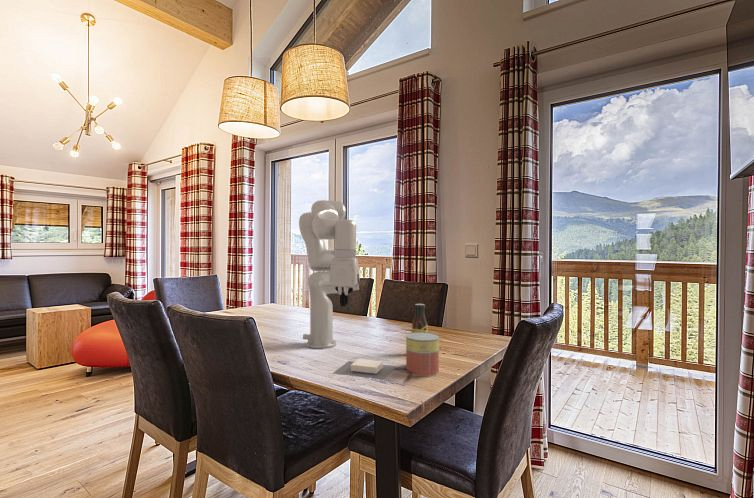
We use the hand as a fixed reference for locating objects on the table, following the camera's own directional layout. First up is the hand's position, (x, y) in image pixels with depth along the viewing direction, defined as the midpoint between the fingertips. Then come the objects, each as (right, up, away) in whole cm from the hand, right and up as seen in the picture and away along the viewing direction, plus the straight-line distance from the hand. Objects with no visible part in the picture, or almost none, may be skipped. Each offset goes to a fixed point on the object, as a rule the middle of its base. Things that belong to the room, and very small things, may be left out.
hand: (344, 305), depth 137 cm
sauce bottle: (+29, -22, +15) cm, 39 cm away
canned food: (+27, -22, -5) cm, 35 cm away
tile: (+4, -19, -6) cm, 21 cm away
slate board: (+8, -22, -7) cm, 24 cm away
